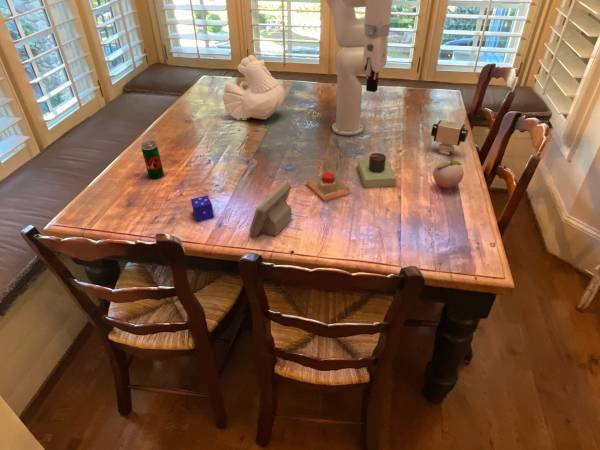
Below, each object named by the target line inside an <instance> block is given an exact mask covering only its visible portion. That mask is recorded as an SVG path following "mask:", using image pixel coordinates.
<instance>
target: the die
mask: <svg viewBox="0 0 600 450" xmlns="http://www.w3.org/2000/svg"><path fill="white" fill-rule="evenodd" d="M190 201H191V206H192V207H191V208H192V213H193V215H194V217H195V219H196V222H200V221H205V220H209V219H213V218H214V217H215V216H214V210H213V204H212V201H211V199H210V197H209V196H208V195H202V196H198V197H195V198H191V199H190Z"/></svg>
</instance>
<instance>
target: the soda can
mask: <svg viewBox="0 0 600 450" xmlns="http://www.w3.org/2000/svg"><path fill="white" fill-rule="evenodd" d="M140 148H141V152H142V156H143V160H144V164H145V167H146V171H147V176H148V177H149V178H150V179H152V180H153V179H154V180H156V179H161V178H162V177H163V175H164V174H165V173H164V169H163V163H162V160H161V155H160V151H159V146H158V144H156V142H155V141H154V140H147V141H144V142H142V144H141V147H140Z"/></svg>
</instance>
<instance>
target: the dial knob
mask: <svg viewBox="0 0 600 450" xmlns="http://www.w3.org/2000/svg"><path fill="white" fill-rule="evenodd" d="M386 156H387V155H385V154H384V153H380V152H374V153H371V154H370V155H369V158H368V160H369V170H370V171H372V172H375V173H380V172H383V171H384V170H385V161H386V159H387V157H386Z"/></svg>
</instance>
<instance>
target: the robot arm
mask: <svg viewBox="0 0 600 450" xmlns="http://www.w3.org/2000/svg"><path fill="white" fill-rule="evenodd" d="M325 1H326V3H327V6H328V8H329V10H330V13H331V16H332V22H333V28H334V36H335V40H336V41H335V42H336V44H337V45H338V47H340V48H341V49H339V50H338V51H337V52H336V55H335V69H336V80H337V81H336V107H335V108H336V109H335V111H336V113H335V122H334V123H333V124H332V125H331V130H332V132H333V133H335V134H337V135H340V136H350V137H351V136H356V135H360V134H361V133H362V132H363V130H364V126H363V124H361V123H360V122H361V111H362V109H361V108H362V95H363V85H362V83H361V81H360V79H359V78H358V77H357V76H358V75H359V76H360V75H365V77H366V87H365V91H367V92H371V93H376V92H377V90H378V87H379V86H378V85H379V76H380V72H381V71H382V69H383V68H384V67H385V66H387V61H388V44H389V42H388V41H389V40H388V39H389V38H388V37H389V36H390V29H391V28H390V27H391V19H392V17H391V16H392V7H393V0H325ZM355 8H356V9H357V8H364V9H365V11H364V19H363V18H361V19H358V18H357V16H356V10H355Z"/></svg>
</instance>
